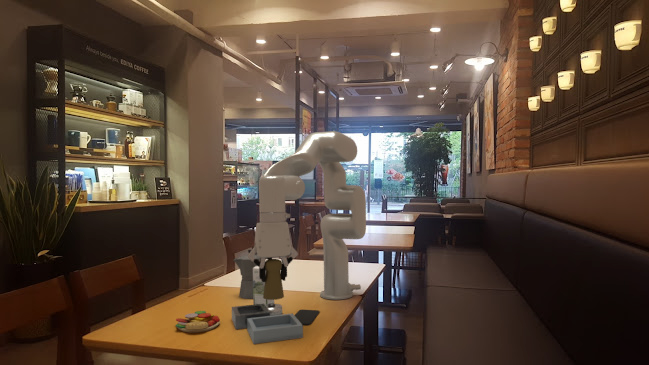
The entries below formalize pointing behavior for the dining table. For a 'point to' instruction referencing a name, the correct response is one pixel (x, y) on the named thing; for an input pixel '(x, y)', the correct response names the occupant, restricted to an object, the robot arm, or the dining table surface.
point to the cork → (273, 280)
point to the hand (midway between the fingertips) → (273, 279)
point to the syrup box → (258, 289)
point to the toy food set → (198, 322)
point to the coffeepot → (246, 275)
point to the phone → (306, 316)
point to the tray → (274, 328)
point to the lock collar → (253, 313)
